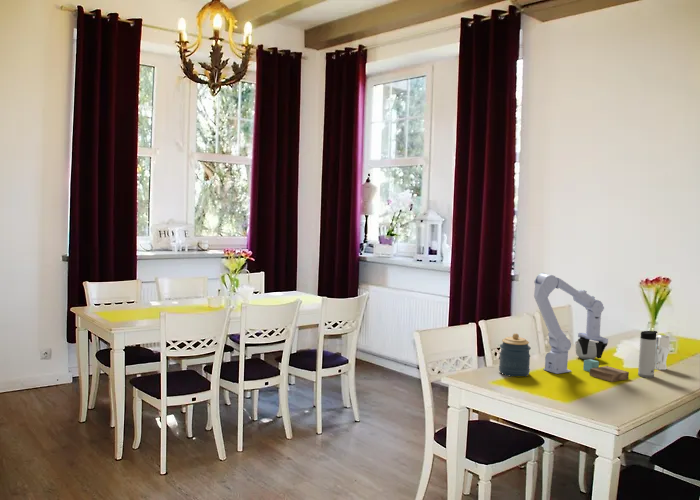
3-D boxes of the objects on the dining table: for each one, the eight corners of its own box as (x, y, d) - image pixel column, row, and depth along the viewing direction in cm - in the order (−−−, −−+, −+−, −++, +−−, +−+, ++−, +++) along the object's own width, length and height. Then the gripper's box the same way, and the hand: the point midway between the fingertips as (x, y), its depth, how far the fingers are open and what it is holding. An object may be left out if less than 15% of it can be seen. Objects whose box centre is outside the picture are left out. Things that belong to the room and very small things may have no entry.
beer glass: (664, 366, 295) (666, 335, 294) (670, 370, 289) (672, 338, 287) (648, 366, 296) (650, 334, 295) (654, 370, 289) (656, 337, 288)
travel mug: (656, 378, 274) (659, 332, 273) (639, 377, 276) (642, 331, 274) (652, 374, 281) (655, 330, 279) (636, 373, 282) (639, 329, 280)
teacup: (601, 361, 303) (602, 345, 302) (578, 360, 303) (579, 344, 302) (591, 354, 317) (592, 338, 316) (569, 354, 317) (570, 338, 316)
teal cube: (591, 372, 282) (592, 362, 282) (583, 370, 286) (583, 360, 286) (598, 371, 284) (598, 361, 284) (590, 369, 288) (590, 359, 288)
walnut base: (611, 381, 267) (611, 374, 267) (589, 375, 277) (590, 368, 277) (628, 378, 273) (628, 372, 273) (606, 372, 282) (606, 365, 282)
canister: (492, 372, 277) (494, 332, 275) (508, 368, 286) (510, 329, 284) (519, 379, 267) (521, 337, 266) (535, 374, 277) (537, 334, 275)
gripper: (613, 328, 280) (611, 358, 281) (586, 322, 292) (584, 351, 293) (602, 329, 276) (600, 360, 277) (575, 323, 288) (574, 353, 289)
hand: (591, 356), depth 285 cm, fingers open, 7 cm apart
